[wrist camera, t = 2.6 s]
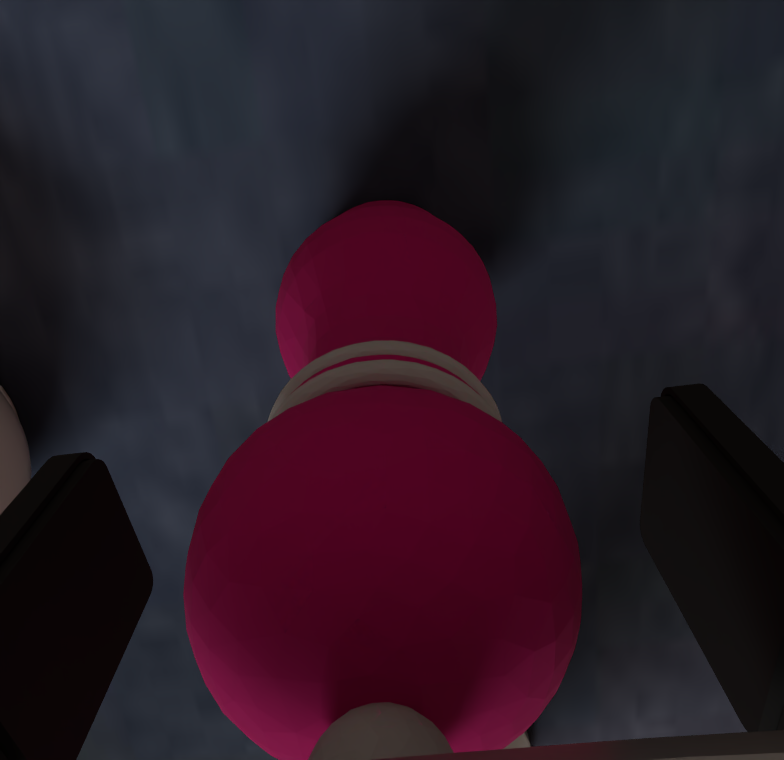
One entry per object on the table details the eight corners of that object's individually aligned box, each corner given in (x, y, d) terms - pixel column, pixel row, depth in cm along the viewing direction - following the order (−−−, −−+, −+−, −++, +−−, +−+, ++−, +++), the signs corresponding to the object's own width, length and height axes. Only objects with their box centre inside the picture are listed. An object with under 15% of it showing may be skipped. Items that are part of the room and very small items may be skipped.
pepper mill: (286, 188, 22) (-169, 633, 4) (481, 182, 22) (900, 608, 4) (304, 364, 25) (95, 1051, 7) (474, 360, 25) (688, 1040, 7)
